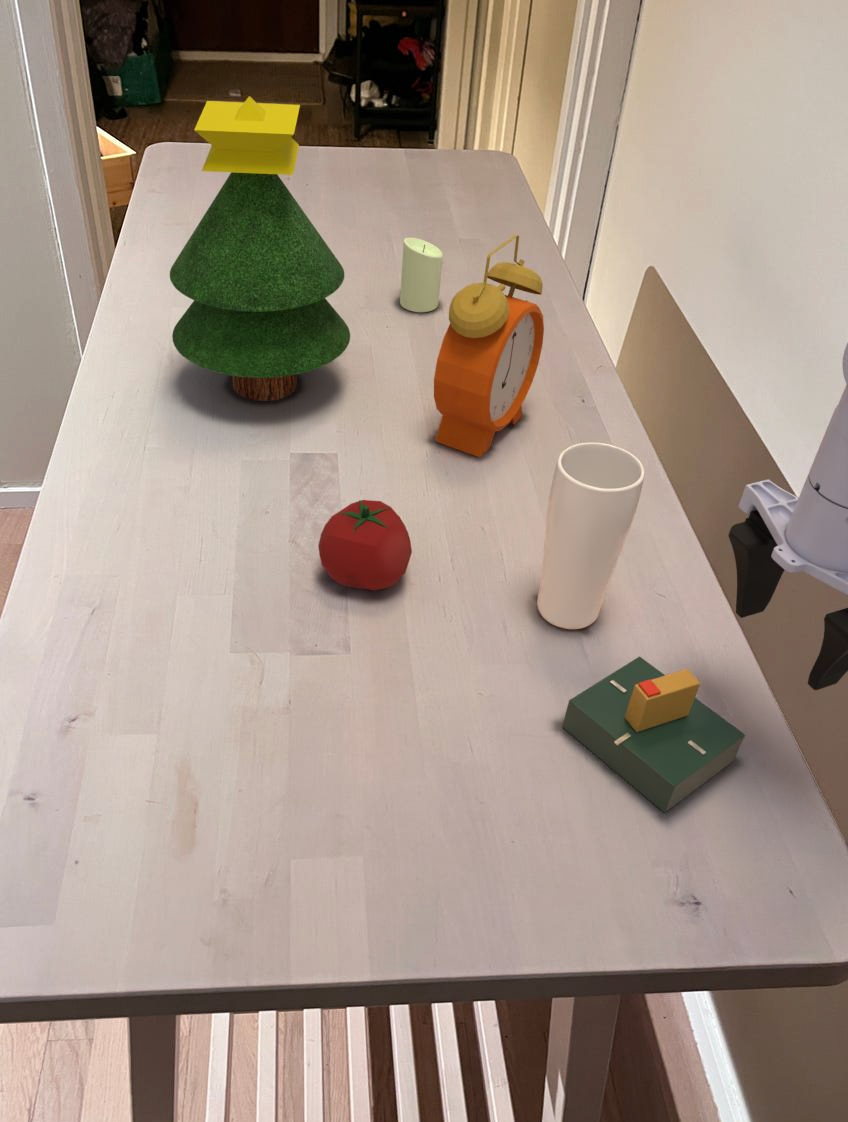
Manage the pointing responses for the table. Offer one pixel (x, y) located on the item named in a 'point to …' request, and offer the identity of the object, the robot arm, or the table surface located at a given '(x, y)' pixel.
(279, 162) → the decorative tree
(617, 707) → the knob panel
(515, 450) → the table surface
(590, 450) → the drinking glass
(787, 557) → the robot arm
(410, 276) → the candle
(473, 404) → the alarm clock
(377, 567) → the tomato
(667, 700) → the yellow block
